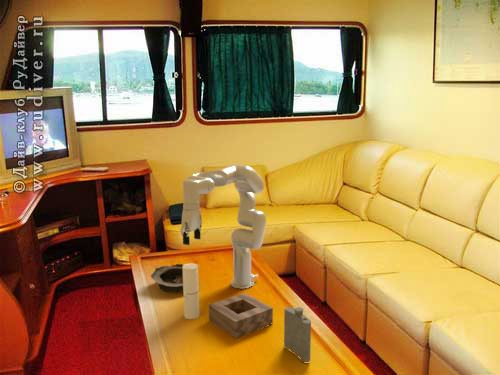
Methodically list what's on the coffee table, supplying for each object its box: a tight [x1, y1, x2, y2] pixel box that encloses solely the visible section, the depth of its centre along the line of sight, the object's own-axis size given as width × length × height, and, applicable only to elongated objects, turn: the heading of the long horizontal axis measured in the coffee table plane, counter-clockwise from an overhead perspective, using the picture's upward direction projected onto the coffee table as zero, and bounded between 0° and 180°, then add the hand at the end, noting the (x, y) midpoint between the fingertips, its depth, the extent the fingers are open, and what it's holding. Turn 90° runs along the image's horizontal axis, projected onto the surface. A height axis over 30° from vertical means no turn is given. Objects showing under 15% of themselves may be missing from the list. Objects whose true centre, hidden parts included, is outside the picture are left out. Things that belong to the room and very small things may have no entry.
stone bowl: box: [150, 263, 184, 293], centre depth 270 cm, size 25×25×9 cm
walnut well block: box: [208, 292, 274, 339], centre depth 230 cm, size 21×21×8 cm
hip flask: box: [283, 306, 312, 363], centre depth 203 cm, size 16×4×20 cm, turn 30°
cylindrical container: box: [182, 262, 200, 320], centre depth 235 cm, size 7×7×25 cm
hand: (191, 241), depth 234 cm, fingers open, 9 cm apart
